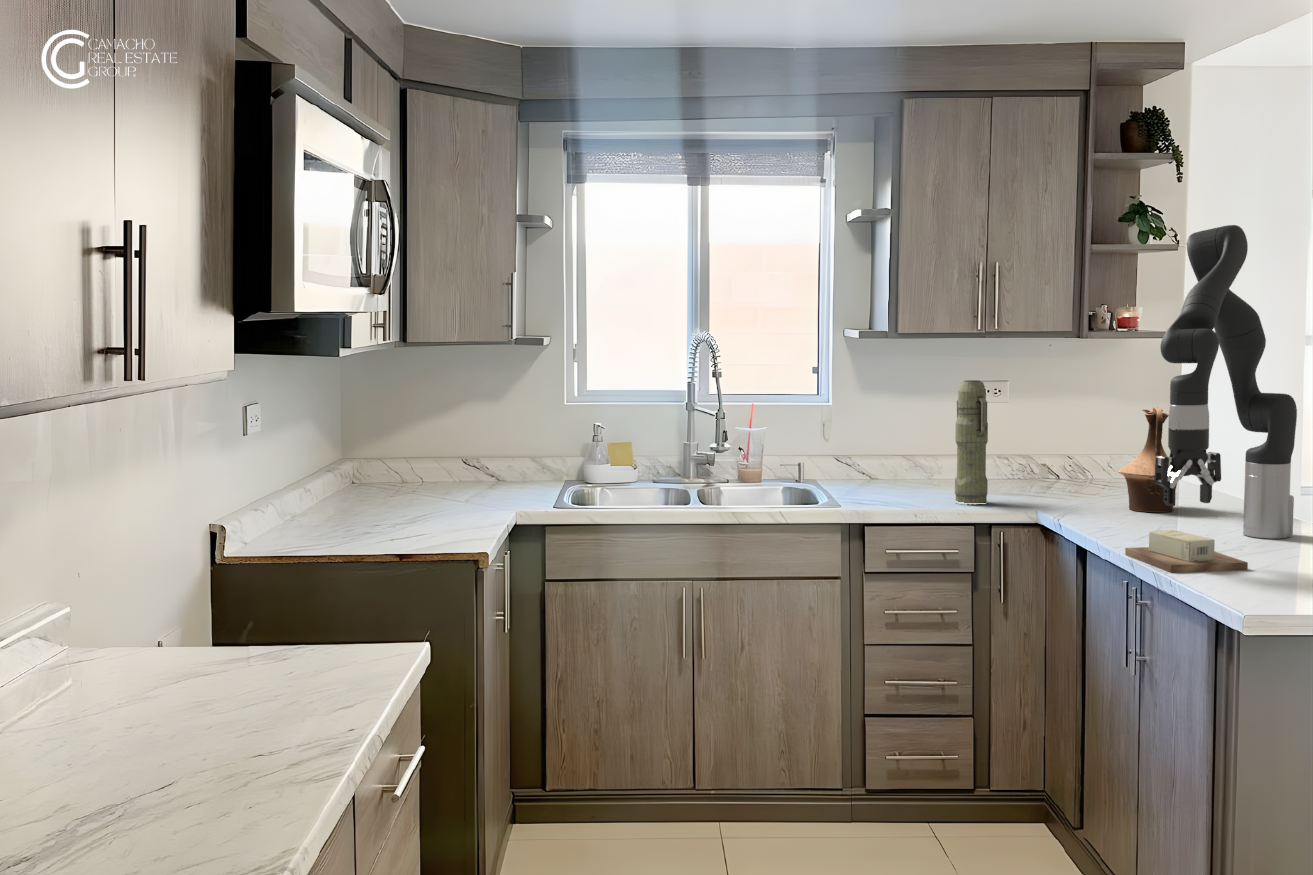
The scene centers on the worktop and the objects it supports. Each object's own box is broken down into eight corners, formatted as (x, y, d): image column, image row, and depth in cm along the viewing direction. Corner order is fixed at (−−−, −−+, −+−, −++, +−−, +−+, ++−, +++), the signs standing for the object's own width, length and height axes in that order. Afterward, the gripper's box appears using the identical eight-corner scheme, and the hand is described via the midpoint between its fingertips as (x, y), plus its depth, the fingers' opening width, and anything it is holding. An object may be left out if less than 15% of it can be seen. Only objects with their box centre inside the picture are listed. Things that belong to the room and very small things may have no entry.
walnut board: (1196, 552, 234) (1196, 545, 234) (1247, 569, 216) (1247, 562, 216) (1125, 554, 233) (1125, 547, 233) (1170, 572, 215) (1170, 564, 215)
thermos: (967, 499, 316) (968, 379, 313) (997, 504, 306) (998, 380, 303) (944, 501, 312) (945, 380, 309) (973, 506, 302) (974, 381, 299)
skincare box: (1189, 541, 217) (1148, 530, 229) (1189, 563, 217) (1147, 551, 229) (1216, 539, 218) (1173, 528, 230) (1215, 560, 219) (1172, 549, 231)
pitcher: (1194, 515, 281) (1197, 408, 278) (1124, 514, 284) (1126, 408, 282) (1176, 505, 298) (1178, 404, 296) (1110, 504, 301) (1112, 404, 299)
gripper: (1204, 423, 227) (1203, 499, 229) (1146, 426, 224) (1145, 504, 225) (1231, 425, 220) (1230, 504, 222) (1171, 429, 217) (1171, 509, 218)
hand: (1187, 504), depth 224 cm, fingers open, 8 cm apart
